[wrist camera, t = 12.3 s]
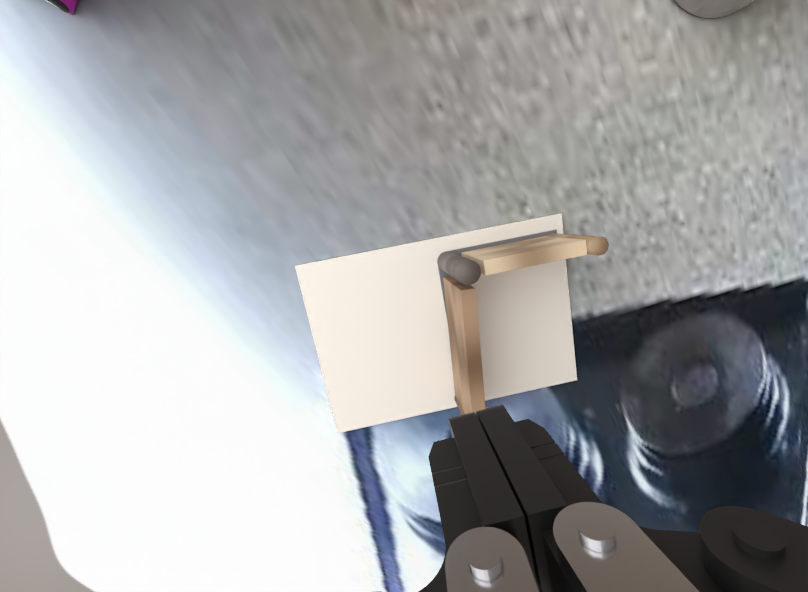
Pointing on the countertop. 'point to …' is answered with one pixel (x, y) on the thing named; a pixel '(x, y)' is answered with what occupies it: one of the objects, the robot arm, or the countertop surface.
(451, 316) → the fence hinged panel
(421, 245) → the card
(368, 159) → the countertop surface
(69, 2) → the candy bar box
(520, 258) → the fence fixed
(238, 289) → the countertop surface
